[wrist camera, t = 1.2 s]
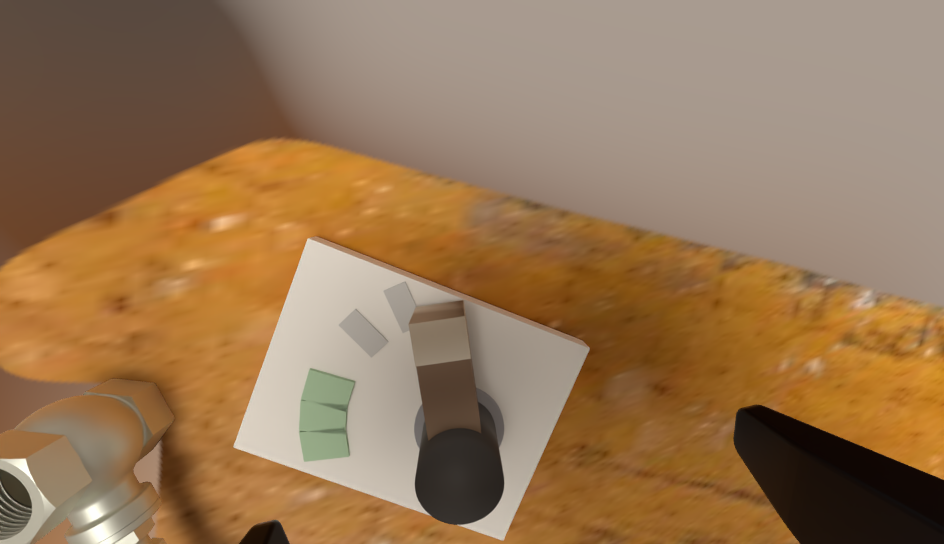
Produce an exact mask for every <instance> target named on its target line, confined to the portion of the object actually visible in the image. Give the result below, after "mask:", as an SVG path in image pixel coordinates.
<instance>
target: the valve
mask: <svg viewBox="0 0 944 544" xmlns="http://www.w3.org/2000/svg"><path fill="white" fill-rule="evenodd" d="M173 421H174V416H173V414H172V412H171V410H170V409H169V407H168V405H167V403H166V401H165V400H164V398H163V396H162V394H161V392H160V391H159V389H158V387H157V385H156V384H155V383H152V382H143V381H134V380H124V379H110V380H108V381H106V382H104V383H102V384H100V385H98V386H96V387H94V388H92V389H90V390H88V391H86V392H85V393H84V394H83V395H82V396H75V397H70V398H66V399H62V400H59V401H56V402H54V403H51V404H49V405H47V406H45V407H43V408H41V409H39V410H37V411H36V412H34V413H33V414H31V415H30V416H28V417H27V418H26V419H25V420H23V421H22V422H21V423H20V424H19V425H18V426H17V427H16V428H15V429H14V430H8V431H6V432H4V433H2V434H0V544H35V543H36V542H37V541H39V540H40V539H41V538H42V537H44V536H45V535H46V534H48V533H49V532H50V531H51V530H53V529H54V528H55V527H56V526H58V525H59V524H60V523H61V522H63V521H64V520H65V519H66V517H67V518H68V519H69V521H70V523H71V524H72V526H71V527H70V528H69V529H68V530H67V531H66V533H65V538H66V540H67V542H68V543H69V544H166V542H165V540H164V539H163V538H152V539H150V537H149V536H148V533H149V532H150V531H151V529H152V528H153V526H154V525H155V523H154V522H153V520H152V518H151V516H152V515H153V514H154V513H155V512H156V511H157V510H158V509H159V507H160V506H161V502H162V501H161V499H160V497H159V496H158V494H157V492H156V491H155V489H154V487H153V485H152V484H151V483H150V482H143V483H139V482H138V480H137V478H136V476H135V475H134V473H133V468H134V466H135V464H136V463H137V462H138V461H139V460H140V459H142V458H143V457H144V456H145V455H147V454H148V453H149V452H150V451H151V450H153V448H154V447H155V446H156V445H157V443H158V442H159V441H160V439H161V438H162V436H163V435H164V433H165V432H166V431H167V429H168V428H169V426H170V425H171V424H172V422H173Z"/></svg>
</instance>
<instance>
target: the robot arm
mask: <svg viewBox="0 0 944 544" xmlns="http://www.w3.org/2000/svg"><path fill="white" fill-rule="evenodd" d="M734 445H735V448H736V450H737V452H738V454H739V455H740V457H741V458H742V460H743V461H744V463H745V465H746V466H747V468H748V469H749V471H750V472H751V474H752V475H753V477H754V478H755V480H756V481H757V483H758V484H759V486H760V487H761V489H762V490H763V492H764V493H765V495H766V496H767V498H768V499H769V501H770V502H771V504H772V505H773V507H774V508H775V510H776V511H777V513H778V514H779V516H780V517H781V519H782V520H783V522H784V523H785V524H786V526H787V527H788V528H789V530H790V531H791V532H792V534H793V535H794V536H795V538H796V539H797V540H798V541H799V543H800V544H944V480H942V479H940V478H938V477H935V476H933V475H930V474H928V473H925V472H923V471H921V470H918V469H916V468H913V467H911V466H908V465H906V464H904V463H901V462H899V461H896V460H894V459H891V458H889V457H886V456H884V455H882V454H879V453H877V452H874V451H872V450H869V449H867V448H865V447H862V446H860V445H857V444H855V443H852V442H850V441H848V440H845V439H843V438H840V437H838V436H835V435H833V434H830V433H828V432H826V431H823V430H821V429H818V428H816V427H813V426H811V425H809V424H806V423H804V422H801V421H799V420H796V419H794V418H792V417H789V416H787V415H784V414H782V413H779V412H777V411H774V410H772V409H770V408H767V407H765V406H762V405H752V406H748V407H744V408H741V409H739V410H738V411H737V414H736V421H735V430H734ZM239 544H290V543H289V541H288V539H287V536H286V534H285V532H284V530H283V527H282V525H281V523H280V522H279V521H278V520H272V521H267V522H263V523H259V524H256V525H254V526H253V527H252V528H251V529H250V530H249V531H248V533H247V534H246V535H245V537H244V538H243V539H242V540H241V542H240V543H239Z"/></svg>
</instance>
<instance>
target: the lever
mask: <svg viewBox="0 0 944 544" xmlns="http://www.w3.org/2000/svg"><path fill="white" fill-rule="evenodd" d="M408 325H409V331H410V337H411V343H412V349H413V355H414V361H415V367H416V369H417V375H418V381H419V387H420V393H421V400H422V406H423V412H424V418H425V421H424V425H423V431H422V438H421V444H420V450H419V457H418V463H417V469H416V476H415V492H416V496H417V498H418V501H419V502H420V504H421V506H422V507H423V508H424V510H425V511H426V512H427V513H428V514H430V515H431V516H432V517H434V518H435V519H437V520H439V521H442V522H445V523H448V524H454V525H463V524H469V523H473V522H476V521H478V520H481V519H483V518H484V517H486V516H487V515H488V514H490V513H491V512H492V511H493V510H494V509H495V508H496V506H497V505H498V503H499V501H500V500H501V497H502V495H503V491H504V474H503V468H502V462H501V456H500V451H499V445H498V439H497V433H496V427H495V422H494V419H493V417H492V415H491V413H490V412H489V411H488V409H487V408H486V407H485V406H484V405H482V404H481V403H479V402H478V398H477V391H476V384H475V378H474V371H473V364H472V357H471V350H470V342H469V333H468V326H467V319H466V312H465V305H464V300H461V301H454V302H447V303H440V304H433V305H426V306H419V307H415V310H414V312H413V315H412V317H411V319H410V322H409V324H408Z"/></svg>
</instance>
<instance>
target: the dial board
mask: <svg viewBox="0 0 944 544" xmlns="http://www.w3.org/2000/svg"><path fill="white" fill-rule="evenodd" d="M461 300H464V305H465V312H466V319H467V326H468V333H469V342H470V350H471V357H472V364H473V371H474V378H475V384H476V391H477V398H478V402H479V403H481V404H482V405H484V406H485V407H486V408H487V409H488V411H489V412H490V413H491V415H492V417H493V419H494V422H495V427H496V433H497V439H498V445H499V451H500V456H501V462H502V468H503V474H504V491H503V495H502V497H501V500H500V501H499V503H498V505H497V506H496V508H495V509H494V510H493V511H492V512H491V513H490V514H488V515H487V516H486V517H484V518H483V519H481V520H478V521H476V522H473V523H469V524H463V525H459V526H462V527H465V528H468V529H470V530H473V531H476V532H479V533H482V534H485V535H488V536H491V537H494V538H496V539H499V540H502V541H503V540H504V537H505V535H506V533H507V531H508V529H509V526H510V524H511V522H512V520H513V518H514V515H515V513H516V511H517V509H518V507H519V504H520V502H521V500H522V498H523V495H524V493H525V491H526V489H527V487H528V484H529V482H530V480H531V478H532V476H533V473H534V471H535V469H536V467H537V465H538V462H539V460H540V458H541V456H542V453H543V451H544V449H545V447H546V445H547V442H548V440H549V438H550V436H551V434H552V431H553V429H554V427H555V425H556V423H557V420H558V418H559V416H560V414H561V412H562V409H563V407H564V405H565V403H566V400H567V398H568V396H569V394H570V392H571V389H572V387H573V385H574V383H575V381H576V378H577V376H578V374H579V372H580V370H581V367H582V365H583V363H584V361H585V359H586V356H587V354H588V352H589V350H590V348H589V347H588V346H587V345H586V344H585V342H584V341H583V340H580V339H578V338H575V337H572V336H570V335H567V334H565V333H562V332H560V331H557V330H555V329H552V328H549V327H547V326H544V325H542V324H539V323H537V322H534V321H532V320H529V319H527V318H524V317H521V316H519V315H516V314H514V313H511V312H509V311H506V310H504V309H501V308H498V307H496V306H493V305H491V304H488V303H486V302H483V301H481V300H478V299H475V298H473V297H470V296H468V295H465V294H463V293H460V292H458V291H455V290H452V289H450V288H447V287H445V286H442V285H440V284H437V283H435V282H432V281H430V280H427V279H424V278H422V277H419V276H417V275H414V274H412V273H409V272H407V271H404V270H401V269H399V268H396V267H394V266H391V265H389V264H386V263H384V262H381V261H378V260H376V259H373V258H371V257H368V256H366V255H363V254H361V253H358V252H356V251H353V250H350V249H348V248H345V247H343V246H340V245H338V244H335V243H333V242H330V241H327V240H325V239H322V238H320V237H317V236H316V237H311V238H308V239H307V242H306V245H305V248H304V251H303V253H302V256H301V259H300V262H299V265H298V267H297V270H296V273H295V276H294V279H293V281H292V284H291V287H290V290H289V293H288V295H287V298H286V301H285V304H284V307H283V309H282V312H281V315H280V318H279V321H278V323H277V326H276V329H275V332H274V335H273V337H272V340H271V343H270V346H269V349H268V351H267V354H266V357H265V360H264V363H263V365H262V368H261V371H260V374H259V377H258V379H257V382H256V385H255V388H254V391H253V393H252V396H251V399H250V402H249V405H248V407H247V410H246V413H245V416H244V419H243V421H242V424H241V427H240V430H239V433H238V435H237V438H236V441H235V444H234V448H237V449H239V450H242V451H245V452H248V453H251V454H254V455H257V456H260V457H263V458H265V459H268V460H271V461H274V462H277V463H280V464H283V465H286V466H289V467H291V468H294V469H297V470H300V471H303V472H306V473H309V474H312V475H315V476H317V477H320V478H323V479H326V480H329V481H332V482H335V483H338V484H341V485H343V486H346V487H349V488H352V489H355V490H358V491H361V492H364V493H366V494H369V495H372V496H375V497H378V498H381V499H384V500H387V501H390V502H392V503H395V504H398V505H401V506H404V507H407V508H410V509H413V510H416V511H418V512H421V513H424V514H427V515H430V514H428V513H427V512H426V511H425V510H424V508H423V507H422V506H421V504H420V502H419V501H418V498H417V496H416V492H415V476H416V469H417V463H418V457H419V450H420V444H421V438H422V431H423V425H424V421H425V418H424V412H423V406H422V400H421V393H420V387H419V381H418V375H417V369H416V367H415V361H414V355H413V349H412V343H411V337H410V331H409V325H408V324H409V322H410V319H411V317H412V315H413V312H414V310H415V307H419V306H426V305H433V304H440V303H447V302H454V301H461ZM430 516H431V515H430Z"/></svg>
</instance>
